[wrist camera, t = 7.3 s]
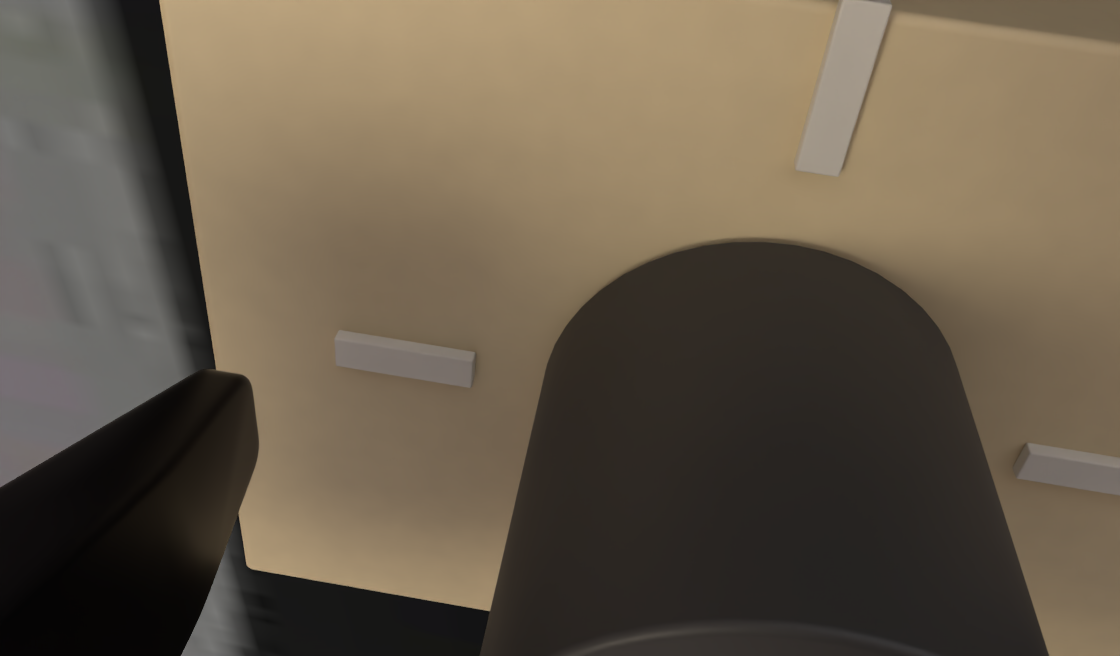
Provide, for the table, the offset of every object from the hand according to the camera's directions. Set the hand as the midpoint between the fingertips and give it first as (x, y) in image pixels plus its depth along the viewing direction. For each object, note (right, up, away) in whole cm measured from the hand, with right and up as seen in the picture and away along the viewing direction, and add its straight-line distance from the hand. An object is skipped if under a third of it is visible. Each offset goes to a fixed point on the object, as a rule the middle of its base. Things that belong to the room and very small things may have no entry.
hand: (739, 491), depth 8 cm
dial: (0, +1, +1) cm, 1 cm away
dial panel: (+1, +2, +3) cm, 4 cm away
